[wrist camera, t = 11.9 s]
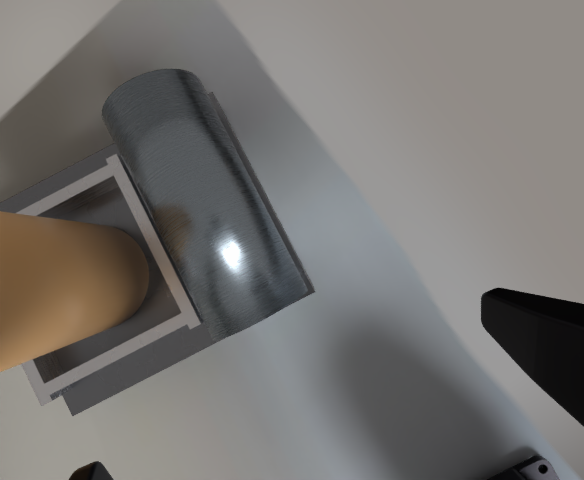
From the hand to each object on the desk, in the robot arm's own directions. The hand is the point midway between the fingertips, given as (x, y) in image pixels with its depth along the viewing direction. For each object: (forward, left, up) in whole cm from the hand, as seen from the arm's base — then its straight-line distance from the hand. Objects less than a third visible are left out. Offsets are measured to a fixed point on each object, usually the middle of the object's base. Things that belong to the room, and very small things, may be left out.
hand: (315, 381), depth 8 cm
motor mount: (+7, +7, -13) cm, 16 cm away
